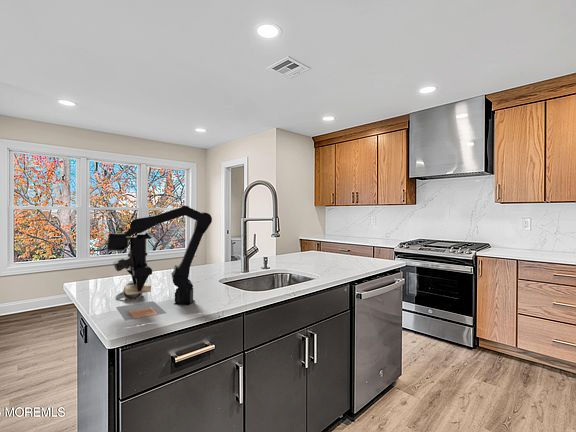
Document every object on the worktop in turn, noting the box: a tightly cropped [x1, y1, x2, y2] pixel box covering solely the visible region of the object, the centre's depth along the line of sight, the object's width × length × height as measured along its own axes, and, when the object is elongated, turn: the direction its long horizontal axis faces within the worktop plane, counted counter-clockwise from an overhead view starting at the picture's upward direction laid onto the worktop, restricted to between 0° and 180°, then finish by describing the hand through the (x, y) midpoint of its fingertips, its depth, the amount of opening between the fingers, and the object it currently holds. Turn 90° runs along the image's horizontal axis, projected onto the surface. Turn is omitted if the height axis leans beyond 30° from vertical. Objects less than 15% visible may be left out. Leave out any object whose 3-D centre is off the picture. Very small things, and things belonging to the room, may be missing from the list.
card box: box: [123, 282, 152, 295], centre depth 123 cm, size 8×6×2 cm, turn 128°
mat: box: [115, 300, 167, 322], centre depth 120 cm, size 14×18×1 cm
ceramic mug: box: [115, 280, 143, 301], centre depth 136 cm, size 11×8×8 cm
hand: (137, 289), depth 123 cm, fingers closed on card box, 5 cm apart
